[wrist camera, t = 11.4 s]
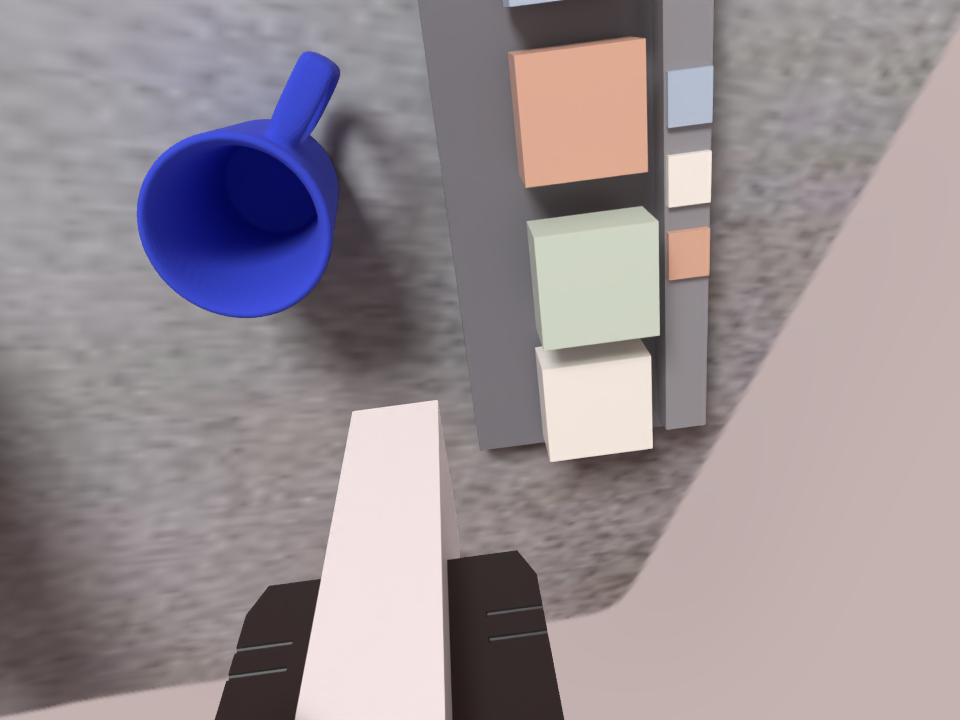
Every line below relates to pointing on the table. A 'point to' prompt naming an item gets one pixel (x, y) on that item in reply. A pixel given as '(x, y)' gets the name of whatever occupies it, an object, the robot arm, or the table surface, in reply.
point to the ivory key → (595, 399)
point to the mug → (247, 205)
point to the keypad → (569, 192)
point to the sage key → (595, 277)
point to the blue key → (523, 2)
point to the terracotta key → (580, 110)
